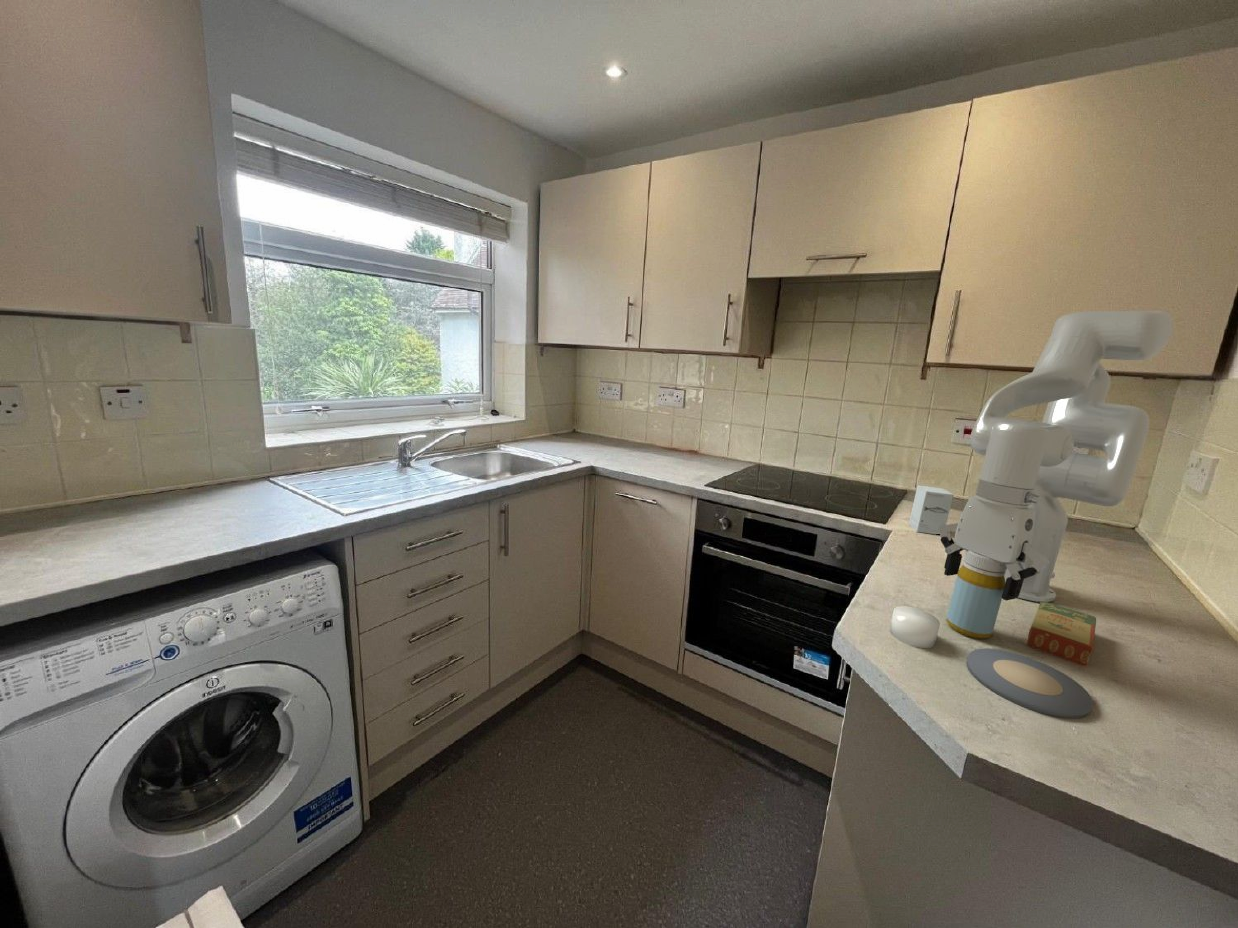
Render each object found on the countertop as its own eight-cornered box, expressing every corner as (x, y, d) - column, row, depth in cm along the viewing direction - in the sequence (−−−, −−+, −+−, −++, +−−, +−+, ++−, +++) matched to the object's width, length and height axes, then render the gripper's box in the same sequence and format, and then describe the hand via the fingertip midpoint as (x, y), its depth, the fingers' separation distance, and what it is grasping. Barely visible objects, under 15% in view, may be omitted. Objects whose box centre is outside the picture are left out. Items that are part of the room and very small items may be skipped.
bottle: (947, 615, 96) (966, 542, 93) (992, 630, 92) (1013, 554, 88) (942, 629, 91) (962, 552, 87) (989, 645, 86) (1011, 565, 83)
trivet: (999, 646, 86) (1000, 640, 86) (1111, 703, 73) (1113, 696, 73) (945, 664, 80) (947, 658, 79) (1058, 729, 67) (1060, 722, 66)
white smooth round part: (905, 623, 92) (910, 603, 91) (943, 644, 86) (949, 623, 85) (880, 629, 89) (884, 609, 88) (917, 652, 83) (923, 630, 82)
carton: (1023, 646, 88) (1030, 624, 87) (1034, 617, 99) (1040, 598, 98) (1087, 669, 82) (1094, 646, 81) (1091, 636, 93) (1097, 615, 92)
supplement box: (916, 532, 145) (925, 490, 142) (908, 524, 152) (916, 484, 149) (944, 536, 143) (954, 494, 140) (934, 528, 150) (944, 487, 147)
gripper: (1076, 508, 79) (1046, 606, 83) (963, 480, 95) (942, 564, 98) (1051, 510, 76) (1021, 612, 80) (939, 481, 91) (918, 568, 95)
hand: (978, 586), depth 89 cm, fingers open, 9 cm apart
